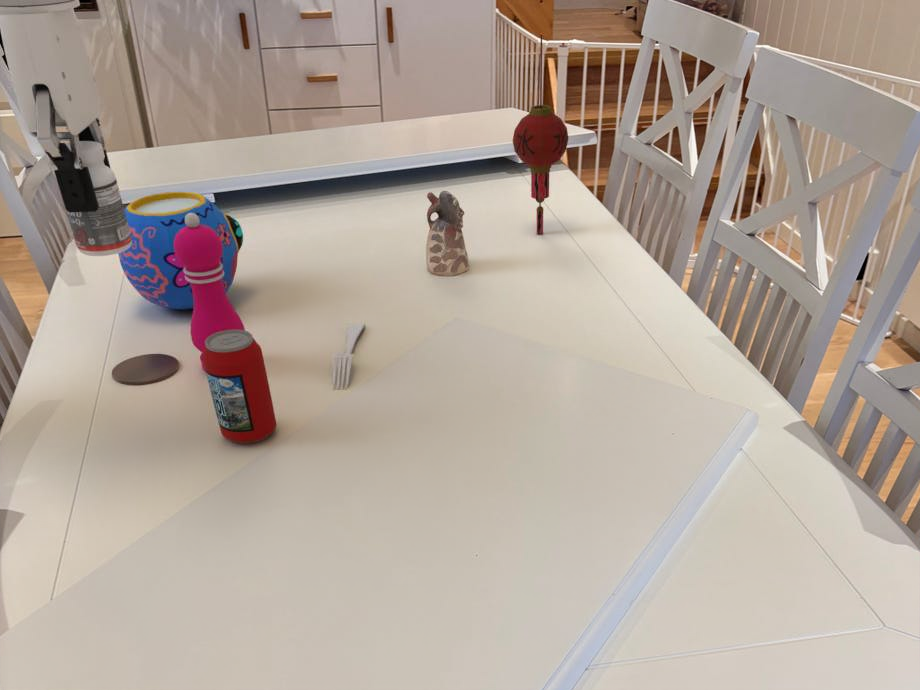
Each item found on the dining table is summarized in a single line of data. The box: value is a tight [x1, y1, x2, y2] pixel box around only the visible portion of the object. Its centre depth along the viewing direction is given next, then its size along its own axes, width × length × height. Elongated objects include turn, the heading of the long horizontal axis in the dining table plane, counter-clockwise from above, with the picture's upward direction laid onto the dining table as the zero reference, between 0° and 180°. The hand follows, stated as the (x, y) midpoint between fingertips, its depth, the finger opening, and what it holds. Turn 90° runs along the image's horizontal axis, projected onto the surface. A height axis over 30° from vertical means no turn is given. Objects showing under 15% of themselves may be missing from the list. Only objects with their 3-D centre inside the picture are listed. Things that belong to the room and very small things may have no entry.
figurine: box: [425, 190, 470, 277], centre depth 148 cm, size 7×7×12 cm
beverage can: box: [202, 330, 277, 444], centre depth 108 cm, size 7×7×12 cm
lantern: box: [512, 34, 569, 236], centre depth 153 cm, size 10×10×30 cm
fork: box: [332, 323, 365, 391], centre depth 127 cm, size 3×21×3 cm, turn 0°
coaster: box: [111, 353, 180, 386], centre depth 126 cm, size 9×9×1 cm
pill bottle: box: [58, 141, 132, 257], centre depth 94 cm, size 6×6×10 cm
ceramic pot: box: [117, 191, 244, 310], centre depth 139 cm, size 18×18×15 cm
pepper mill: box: [174, 213, 246, 373], centre depth 120 cm, size 7×7×20 cm
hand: (91, 199), depth 94 cm, fingers closed on pill bottle, 5 cm apart
